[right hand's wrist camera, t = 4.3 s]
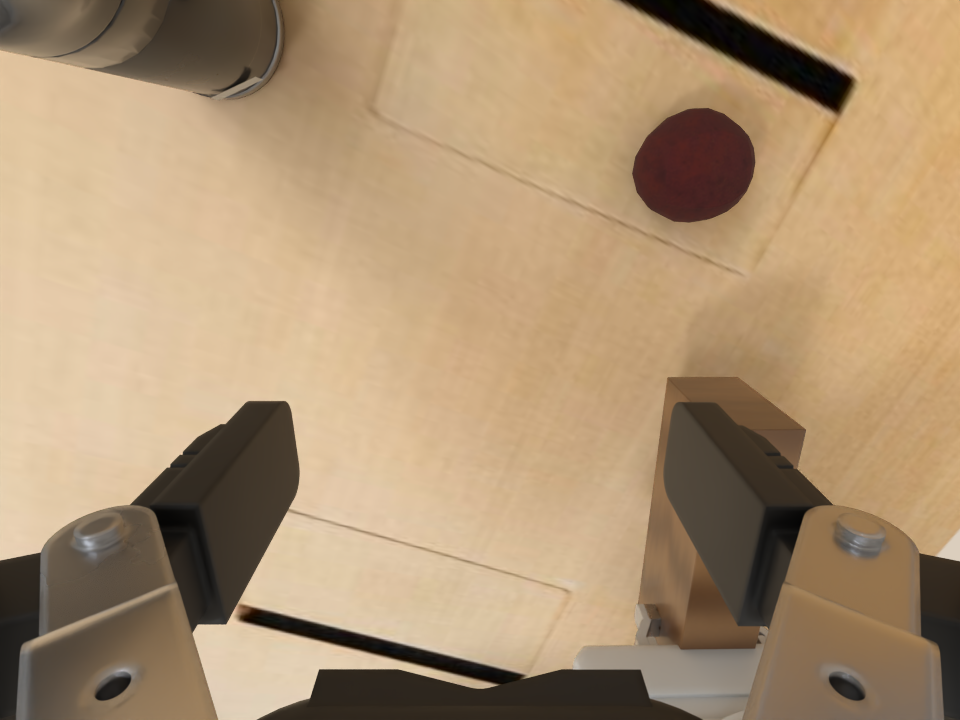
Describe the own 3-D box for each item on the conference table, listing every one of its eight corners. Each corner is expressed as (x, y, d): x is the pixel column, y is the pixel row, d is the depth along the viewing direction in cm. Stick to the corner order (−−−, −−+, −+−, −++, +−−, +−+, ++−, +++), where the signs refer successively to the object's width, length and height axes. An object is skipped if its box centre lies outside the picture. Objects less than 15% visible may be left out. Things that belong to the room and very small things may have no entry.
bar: (667, 377, 39) (717, 430, 31) (738, 376, 39) (806, 429, 31) (635, 618, 46) (670, 710, 38) (695, 617, 46) (741, 709, 38)
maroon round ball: (723, 210, 41) (770, 220, 34) (623, 222, 41) (650, 234, 35) (728, 105, 38) (780, 95, 32) (621, 119, 39) (650, 111, 32)
